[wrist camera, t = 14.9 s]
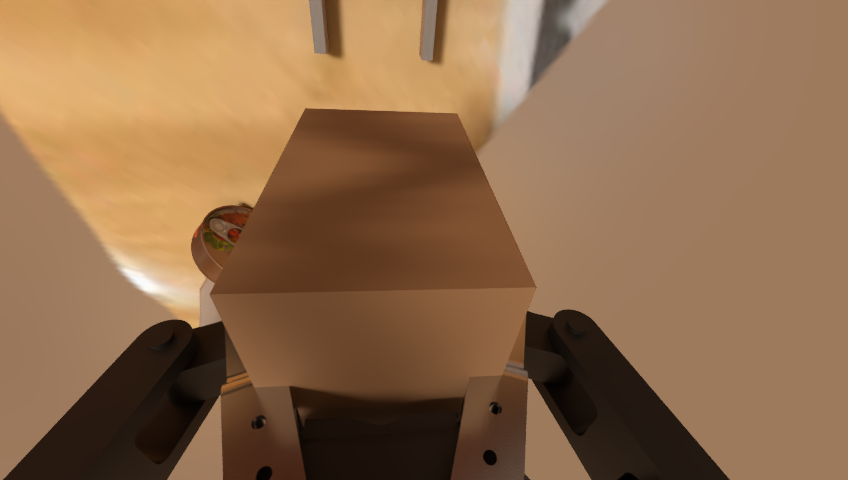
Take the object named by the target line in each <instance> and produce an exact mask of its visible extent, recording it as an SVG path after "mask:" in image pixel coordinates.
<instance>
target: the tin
mask: <svg viewBox="0 0 848 480" xmlns="http://www.w3.org/2000/svg"><path fill="white" fill-rule="evenodd" d="M252 211H253V210H252V209H249V208H246V207H242V206H234V205H230V206H223V207H219V208H216V209H214V210H213V211H211V212H210V213H208V215H207V216H206V217H205V218H204V220H203V222H202V223H201V225H200V226H199V227H198V228H197V230H196V231H195V233H194V235H193V238H192V243H191V251H192V256H193V259H194V261H195V263H196V265H197V267H198V268H199V270H200V271H201V272H202V273H203V274H204V275H205V276H206V277H207V278H208V279H209V280H210V281H212V282H213V283H215V282H216V281H217V279H218V277H219V275H220V273H221V271H222V269H223V267H224V265H225V263H226V261H227V259H228V257H229V255H230V253H231V252H232V250H233V248H234V246H235V244H236V242H237V240H238V238H239V236H240V234H241V232H242V230H243V228H244V226H245V224H246V223H247V221H248V219H249V217H250V215H251V213H252Z"/></svg>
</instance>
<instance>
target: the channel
mask: <svg viewBox="0 0 848 480" xmlns="http://www.w3.org/2000/svg"><path fill="white" fill-rule="evenodd" d="M437 1H438V0H423V6H422V22H421V38H420V53H419V55H420V57H421V59H422V60H429V61H432V60H433V48H434V36H435V25H436V13H437ZM309 4H310V13H311V23H312V32H313V42H314V51H315V53H320V54H326V53H327V51H328V50H329V41H328V29H327V17H326V4H325V0H309Z"/></svg>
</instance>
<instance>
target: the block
mask: <svg viewBox="0 0 848 480" xmlns="http://www.w3.org/2000/svg"><path fill="white" fill-rule="evenodd" d="M535 290H536V286H535V283H534V281H533V279H532V277H531V274H530V272H529V270H528V268H527V266H526V263H525V262H524V259H523V257H522V255H521V252H520V250H519V248H518V246H517V244H516V242H515V239H514V237H513V235H512V233H511V231H510V228H509V226H508V224H507V222H506V220H505V217H504V215H503V213H502V211H501V209H500V206H499V204H498V202H497V200H496V198H495V196H494V193H493V191H492V189H491V187H490V185H489V183H488V180H487V178H486V176H485V174H484V171H483V169H482V167H481V165H480V163H479V161H478V158H477V156H476V154H475V152H474V150H473V147H472V145H471V143H470V141H469V139H468V136H467V134H466V132H465V130H464V128H463V125H462V123H461V121H460V119H459V117H458V114H454V113H424V112H395V111H366V110H337V109H308V108H305V110H304V112H303V114H302V116H301V118H300V120H299V122H298V124H297V126H296V128H295V130H294V132H293V134H292V135H291V137H290V139H289V141H288V143H287V145H286V147H285V149H284V151H283V153H282V155H281V157H280V159H279V161H278V163H277V164H276V166H275V168H274V170H273V172H272V174H271V176H270V178H269V180H268V182H267V184H266V186H265V188H264V190H263V192H262V193H261V195H260V197H259V199H258V201H257V203H256V205H255V207H254V209H253V211H252V213H251V215H250V217H249V219H248V221H247V223H246V224H245V226H244V228H243V230H242V232H241V234H240V236H239V238H238V240H237V242H236V244H235V246H234V248H233V250H232V252H231V253H230V255H229V257H228V259H227V261H226V263H225V265H224V267H223V269H222V271H221V273H220V275H219V277H218V279H217V281H216V282H215V284H214V286H213V288H212V290H211V292H210V294H209V295H210V297H211V299H212V301H213V303H214V305H215V307H216V309H217V311H218V313H219V315H220V318H221V320H222V322H223V324H224V326H225V328H226V330H227V332H228V334H229V336H230V338H231V340H232V342H233V344H234V346H235V349H236V351H237V353H238V355H239V357H240V359H241V361H242V363H243V365H244V367H245V369H246V371H247V373H248V375H249V377H250V379H251V382H252V384H253V386H254V387H274V386H289V387H290V390H291V393H292V396H293V399H294V401H295V404H296V407H297V410H298V413H299V416H300V418H301V421H302V424H303V427H304V424H305V419H322V418H338V417H345V418H349V419H354V420H359V421H363V422H368V423H373V424H377V425H384V424H388V423H391V422H394V421H397V420H400V419H403V418H405V417H408V416H411V415H414V414H417V413H422V412H439V411H455V412H456V418H457V419H458V416H459V412H460V409H461V405H462V402H463V398H464V395H465V391H466V387H467V384H468V380H469V377H479V376H499V375H502V374H503V372H504V369H505V367H506V364H507V362H508V359H509V356H510V354H511V351H512V349H513V346H514V344H515V341H516V339H517V336H518V333H519V331H520V328H521V326H522V323H523V321H524V318H525V315H526V313H527V310H528V308H529V305H530V303H531V300H532V298H533V295H534V292H535Z"/></svg>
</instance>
